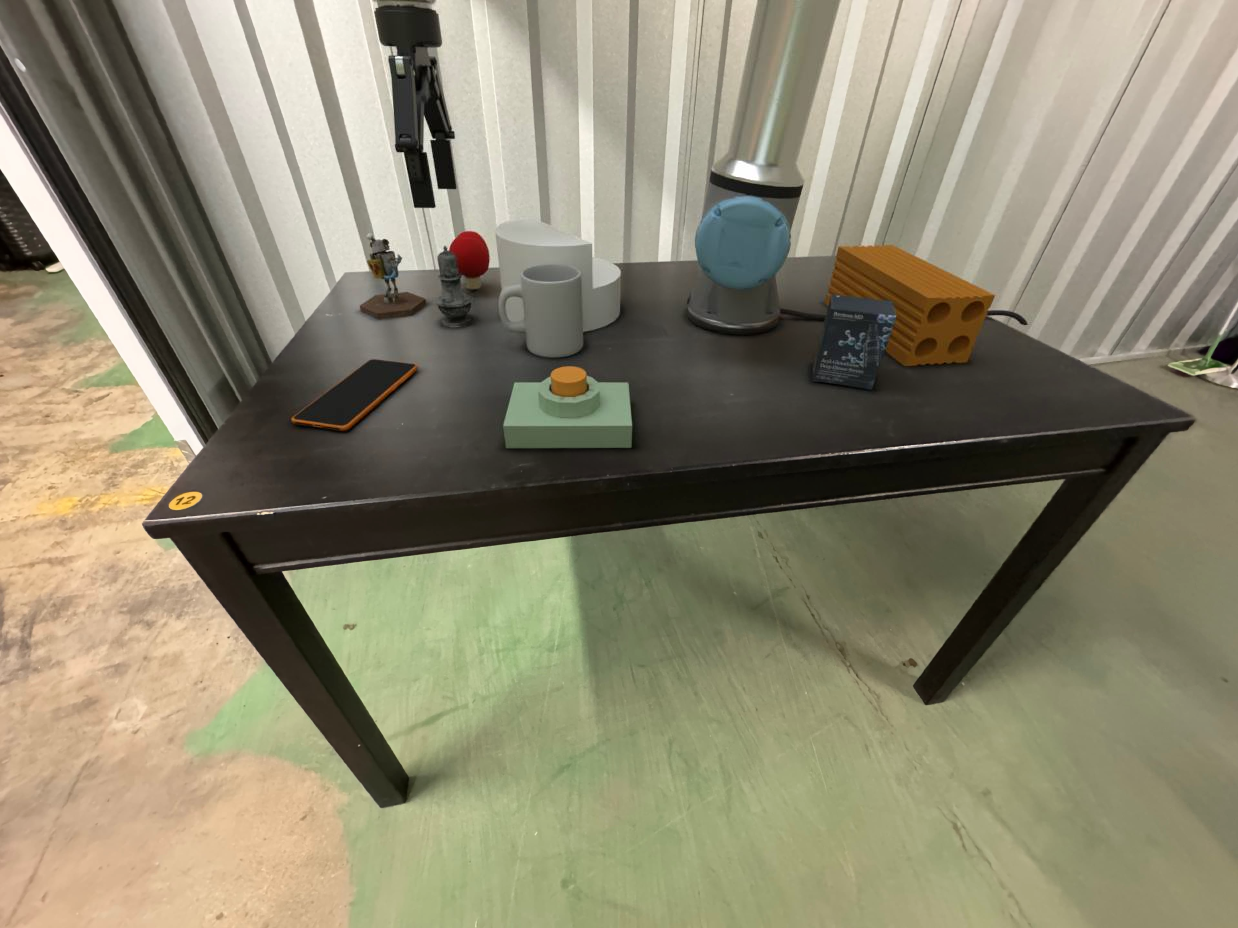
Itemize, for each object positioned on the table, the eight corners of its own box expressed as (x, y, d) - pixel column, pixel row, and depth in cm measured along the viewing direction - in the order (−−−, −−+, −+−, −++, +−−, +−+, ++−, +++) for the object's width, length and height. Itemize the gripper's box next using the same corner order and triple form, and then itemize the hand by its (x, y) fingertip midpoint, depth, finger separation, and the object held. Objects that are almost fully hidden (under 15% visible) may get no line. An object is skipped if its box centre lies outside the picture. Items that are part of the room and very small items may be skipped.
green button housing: (627, 403, 70) (628, 367, 67) (631, 448, 62) (632, 409, 59) (516, 403, 69) (512, 367, 66) (505, 448, 61) (500, 409, 58)
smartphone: (290, 424, 64) (287, 418, 64) (372, 363, 77) (370, 358, 77) (347, 433, 63) (345, 426, 62) (421, 369, 76) (420, 363, 76)
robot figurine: (436, 308, 95) (423, 235, 88) (389, 323, 89) (370, 247, 82) (399, 293, 101) (384, 224, 94) (352, 307, 95) (332, 234, 88)
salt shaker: (466, 329, 88) (454, 252, 81) (432, 326, 89) (417, 249, 82) (481, 316, 92) (471, 241, 85) (448, 313, 93) (435, 239, 86)
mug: (578, 333, 87) (576, 262, 81) (587, 355, 81) (586, 280, 74) (502, 338, 85) (493, 266, 79) (504, 362, 79) (495, 285, 72)
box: (811, 382, 75) (830, 307, 69) (812, 365, 79) (830, 292, 73) (872, 391, 73) (897, 315, 67) (870, 373, 77) (893, 299, 71)
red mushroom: (487, 299, 99) (480, 241, 93) (449, 299, 99) (439, 241, 93) (497, 283, 106) (491, 228, 100) (461, 282, 106) (453, 227, 100)
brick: (966, 362, 81) (995, 295, 75) (904, 366, 80) (928, 298, 74) (875, 301, 101) (892, 245, 95) (824, 303, 100) (838, 246, 94)
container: (643, 317, 93) (646, 234, 85) (537, 343, 84) (530, 253, 76) (581, 284, 106) (580, 210, 98) (485, 304, 97) (474, 223, 89)
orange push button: (587, 382, 64) (586, 366, 63) (586, 399, 61) (586, 382, 60) (552, 382, 64) (551, 366, 63) (550, 399, 61) (549, 382, 60)
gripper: (407, -2, 57) (443, 217, 70) (457, 14, 77) (478, 182, 90) (334, -4, 57) (383, 216, 69) (403, 13, 77) (431, 182, 89)
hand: (437, 198), depth 80 cm, fingers open, 13 cm apart
